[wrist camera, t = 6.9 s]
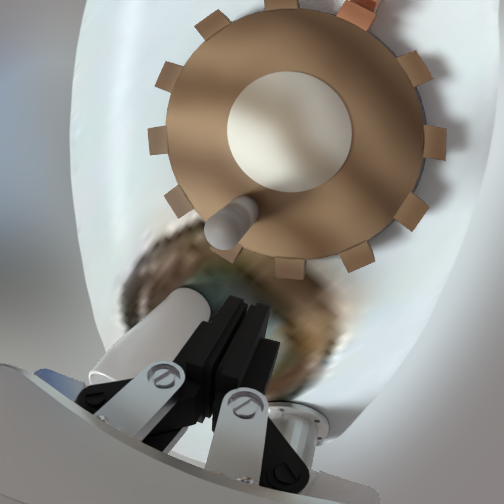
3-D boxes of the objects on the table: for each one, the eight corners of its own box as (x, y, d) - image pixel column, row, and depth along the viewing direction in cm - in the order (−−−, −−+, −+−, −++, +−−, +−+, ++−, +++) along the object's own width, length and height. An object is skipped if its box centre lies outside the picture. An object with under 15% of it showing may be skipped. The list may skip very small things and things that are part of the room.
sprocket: (335, 311, 26) (332, 363, 20) (131, 187, 27) (82, 207, 21) (480, 101, 15) (525, 98, 9) (231, -29, 15) (197, -65, 9)
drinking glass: (202, 274, 30) (118, 373, 17) (227, 324, 32) (167, 430, 19) (157, 285, 33) (75, 368, 20) (182, 330, 35) (118, 418, 22)
